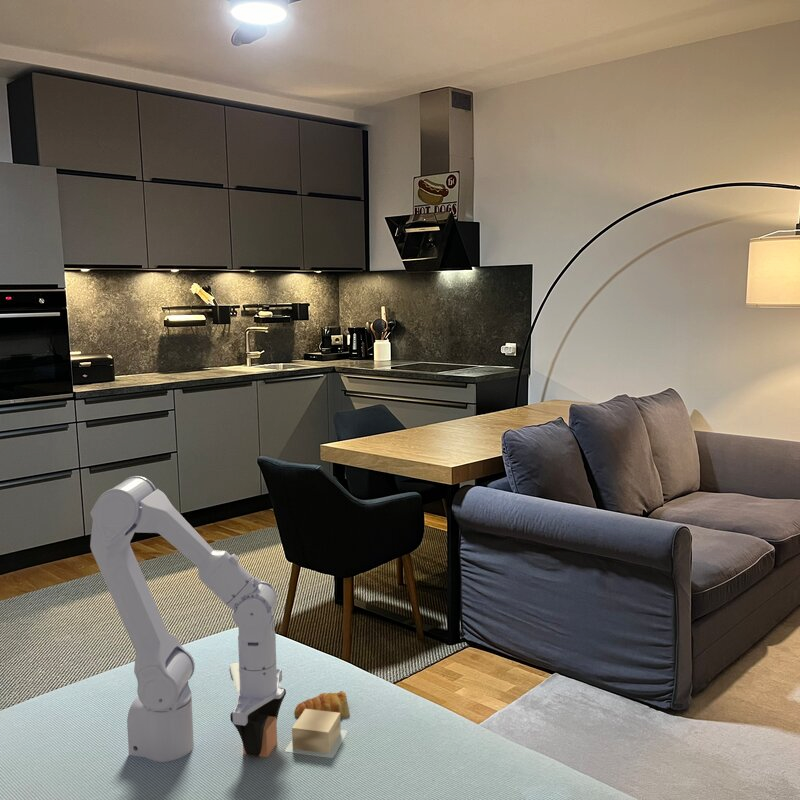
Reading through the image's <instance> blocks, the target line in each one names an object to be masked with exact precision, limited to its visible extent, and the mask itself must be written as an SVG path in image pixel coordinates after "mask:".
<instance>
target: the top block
mask: <svg viewBox="0 0 800 800" xmlns="http://www.w3.org/2000/svg"><path fill="white" fill-rule="evenodd" d="M277 721H278V719H277V720H276V717H272V716H268V718H267V720H266V723H265V726H264V730H263V737H262V748H261V752H260V755H259V756H258V757H261V758H268V757H269V756H270V754H271V753H272V751H273V750H274V749H275V747H276V746H277V744H278V728H277V727H278V726H277V723H278V722H277ZM242 752H243V753H242V754H243V755H246V752H245V749H244V746H243V745H242Z"/></svg>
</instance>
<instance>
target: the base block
mask: <svg viewBox="0 0 800 800" xmlns="http://www.w3.org/2000/svg"><path fill="white" fill-rule="evenodd" d="M341 730H342V728H341V718H340V713H337V712H329V711H321V710H312V709H305V710H304V711H303V713H302V714H301V716H300V717H299V718H297V720H296V721H295V723H294V724H293V726H292V727H291V735H292V737H291V741H292V745H293V749H298V750H306V751H313V752H321V753H329V752H330V751H331V749H332V747H333V746H334V744H335V742H336V740H337V739H338V737H339V735H340V733H341Z"/></svg>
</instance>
